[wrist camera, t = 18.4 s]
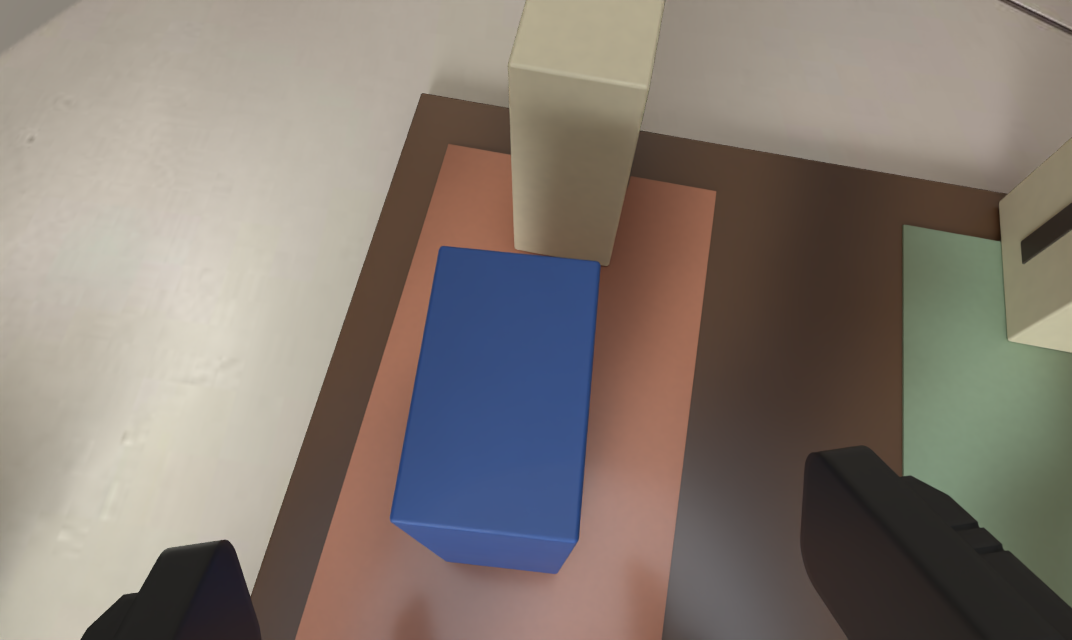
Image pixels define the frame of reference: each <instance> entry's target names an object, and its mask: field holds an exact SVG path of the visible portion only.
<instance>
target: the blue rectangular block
mask: <svg viewBox="0 0 1072 640" xmlns="http://www.w3.org/2000/svg"><path fill="white" fill-rule="evenodd" d="M600 269H601V265H600V263H599V262H598V261H591V260H581V259H571V258H561V257H551V256H541V255H531V254H521V253H511V252H501V251H491V250H481V249H471V248H460V247H450V246H441V247H440V248H439V251H438V256H437V262H436V267H435V273H434V278H433V284H432V289H431V294H430V300H429V305H428V311H427V316H426V322H425V327H424V333H423V338H422V344H421V349H420V355H419V360H418V365H417V371H416V376H415V382H414V387H413V393H412V398H411V404H410V409H409V415H408V420H407V425H406V431H405V436H404V442H403V447H402V453H401V458H400V464H399V469H398V475H397V480H396V485H395V491H394V496H393V502H392V507H391V513H390V522H391V523H393V524H394V525H396V526H397V527H398V528H400V529H401V530H403V531H404V532H405V533H407V534H408V535H410V536H411V537H412V538H414V539H415V540H417V541H418V542H419V543H421V544H422V545H424V546H425V547H426V548H428V549H429V550H431V551H432V552H433V553H435V554H436V555H438V556H439V557H440V558H442V559H443V560H445V561H446V562H454V563H463V564H472V565H481V566H489V567H498V568H507V569H516V570H524V571H533V572H542V573H551V574H557V573H558V572H559V570H560V569H561V567H562V565H563V564H564V562H565V561H566V559H567V558H568V556H569V555H570V553H571V551H572V550H573V548H574V547H575V545H576V544H577V542H578V540H579V533H580V520H581V507H582V495H583V482H584V470H585V457H586V445H587V432H588V419H589V407H590V394H591V382H592V369H593V357H594V344H595V331H596V319H597V306H598V294H599V281H600Z"/></svg>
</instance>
